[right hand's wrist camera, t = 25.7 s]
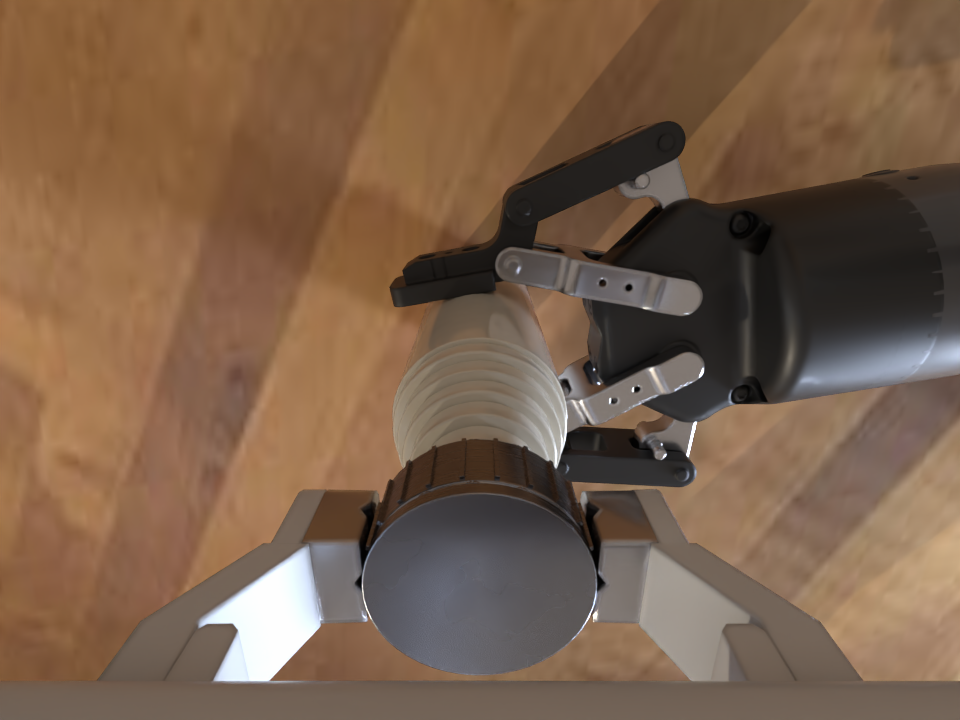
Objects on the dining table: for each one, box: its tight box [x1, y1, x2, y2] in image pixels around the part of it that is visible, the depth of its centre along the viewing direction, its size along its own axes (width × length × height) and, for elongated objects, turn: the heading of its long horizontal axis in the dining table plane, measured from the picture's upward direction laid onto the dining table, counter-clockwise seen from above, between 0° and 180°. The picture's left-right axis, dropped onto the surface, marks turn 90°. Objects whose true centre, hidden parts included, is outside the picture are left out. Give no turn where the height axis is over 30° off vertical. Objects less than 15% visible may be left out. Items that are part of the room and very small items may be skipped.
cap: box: [362, 438, 597, 675], centre depth 10 cm, size 4×4×2 cm
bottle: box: [392, 281, 567, 469], centre depth 18 cm, size 5×5×18 cm
